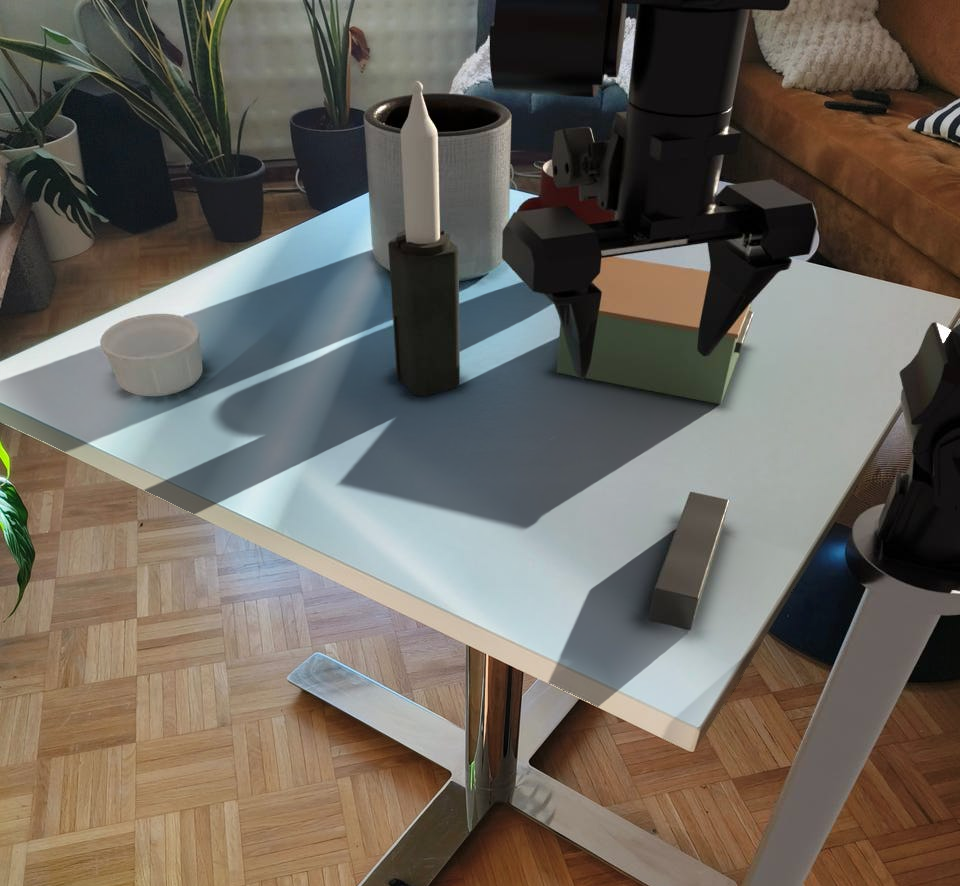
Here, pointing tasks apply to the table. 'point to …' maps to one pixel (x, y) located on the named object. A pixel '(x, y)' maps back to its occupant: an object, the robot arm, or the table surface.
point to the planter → (445, 175)
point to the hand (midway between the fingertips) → (642, 364)
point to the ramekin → (154, 353)
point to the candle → (424, 267)
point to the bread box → (657, 332)
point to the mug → (565, 199)
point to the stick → (688, 561)
